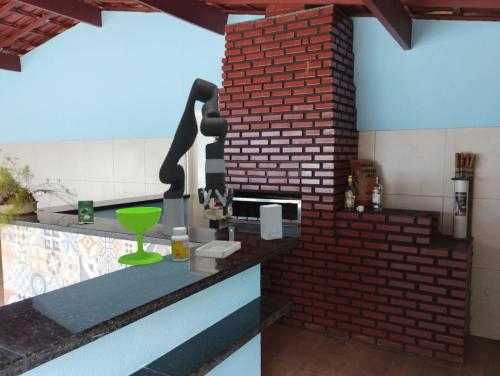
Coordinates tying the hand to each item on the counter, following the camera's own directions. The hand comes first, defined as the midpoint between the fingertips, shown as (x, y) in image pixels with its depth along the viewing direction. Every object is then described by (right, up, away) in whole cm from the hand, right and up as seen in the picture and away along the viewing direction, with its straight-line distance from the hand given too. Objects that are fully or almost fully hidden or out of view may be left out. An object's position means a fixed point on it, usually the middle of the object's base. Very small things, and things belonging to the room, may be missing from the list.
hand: (216, 215), depth 159 cm
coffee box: (-79, -10, +76) cm, 110 cm away
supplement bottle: (-12, -16, -7) cm, 21 cm away
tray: (+1, -14, +3) cm, 15 cm away
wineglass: (-27, -16, -6) cm, 32 cm away
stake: (+5, -13, +18) cm, 23 cm away
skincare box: (+22, -12, +28) cm, 38 cm away
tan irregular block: (+1, -1, +2) cm, 2 cm away
